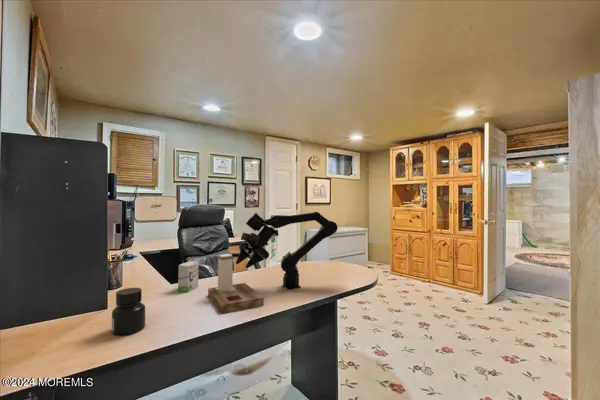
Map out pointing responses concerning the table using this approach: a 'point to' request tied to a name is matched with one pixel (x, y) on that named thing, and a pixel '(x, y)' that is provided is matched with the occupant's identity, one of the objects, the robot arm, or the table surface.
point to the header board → (235, 298)
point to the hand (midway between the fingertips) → (241, 265)
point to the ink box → (187, 276)
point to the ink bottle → (128, 312)
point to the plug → (225, 272)
